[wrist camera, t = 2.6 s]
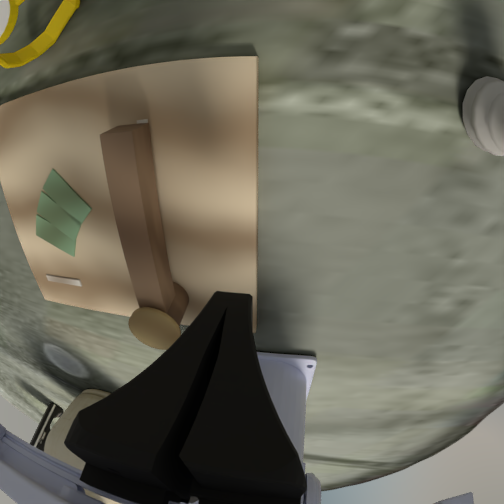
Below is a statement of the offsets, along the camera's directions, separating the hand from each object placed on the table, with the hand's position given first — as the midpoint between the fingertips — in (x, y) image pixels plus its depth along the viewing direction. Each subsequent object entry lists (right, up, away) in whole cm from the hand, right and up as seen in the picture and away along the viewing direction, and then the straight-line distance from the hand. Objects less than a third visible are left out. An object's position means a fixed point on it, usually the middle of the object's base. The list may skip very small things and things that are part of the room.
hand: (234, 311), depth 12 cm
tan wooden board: (-9, +5, +7) cm, 13 cm away
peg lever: (-5, +3, +7) cm, 9 cm away
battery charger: (-38, -28, +35) cm, 59 cm away
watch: (-11, +16, 0) cm, 20 cm away
